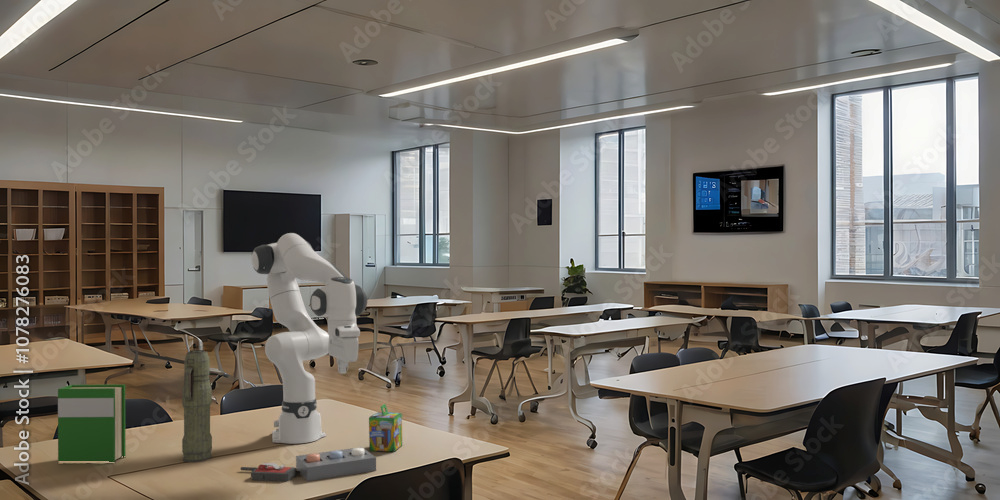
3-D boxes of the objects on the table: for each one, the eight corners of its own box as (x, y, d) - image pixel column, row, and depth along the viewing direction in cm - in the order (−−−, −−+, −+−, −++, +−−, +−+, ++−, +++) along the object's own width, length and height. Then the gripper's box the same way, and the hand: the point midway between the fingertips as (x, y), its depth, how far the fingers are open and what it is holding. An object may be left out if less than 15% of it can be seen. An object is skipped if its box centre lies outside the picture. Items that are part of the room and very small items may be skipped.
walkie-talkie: (303, 474, 220) (242, 471, 223) (303, 460, 220) (242, 457, 223) (290, 483, 212) (227, 480, 215) (290, 468, 212) (227, 465, 215)
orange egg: (304, 464, 221) (304, 454, 221) (318, 462, 223) (318, 452, 223) (308, 467, 217) (308, 457, 217) (321, 465, 219) (321, 455, 219)
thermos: (175, 463, 231) (175, 353, 231) (191, 453, 243) (191, 348, 243) (202, 463, 231) (202, 353, 231) (218, 453, 243) (217, 348, 243)
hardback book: (125, 457, 239) (125, 384, 239) (113, 463, 231) (113, 388, 231) (71, 457, 238) (71, 384, 239) (58, 464, 231) (57, 388, 231)
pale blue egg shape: (327, 461, 224) (327, 451, 224) (340, 459, 226) (340, 449, 226) (331, 464, 221) (331, 454, 221) (344, 462, 223) (344, 452, 223)
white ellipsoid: (349, 458, 228) (349, 448, 228) (362, 456, 230) (362, 447, 230) (353, 461, 224) (353, 451, 224) (366, 459, 226) (366, 450, 226)
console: (296, 468, 225) (296, 455, 225) (361, 459, 235) (361, 447, 235) (307, 481, 212) (307, 467, 212) (376, 470, 222) (376, 457, 222)
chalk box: (394, 452, 243) (394, 408, 243) (368, 451, 245) (368, 407, 245) (403, 445, 252) (403, 402, 252) (378, 444, 254) (378, 401, 254)
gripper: (323, 326, 235) (323, 369, 235) (341, 332, 218) (341, 378, 217) (342, 325, 238) (342, 367, 238) (361, 331, 221) (362, 376, 220)
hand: (342, 373), depth 228 cm, fingers closed
